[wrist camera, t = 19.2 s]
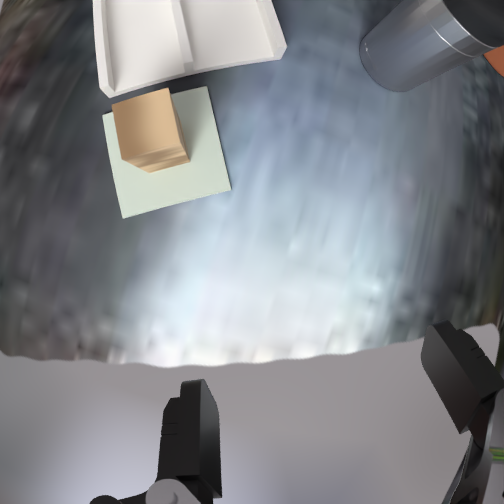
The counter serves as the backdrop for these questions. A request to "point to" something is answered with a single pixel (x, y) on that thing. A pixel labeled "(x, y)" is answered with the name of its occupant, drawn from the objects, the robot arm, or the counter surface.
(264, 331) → the counter surface
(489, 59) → the potted cactus
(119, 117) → the oak block
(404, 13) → the robot arm
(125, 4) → the tray
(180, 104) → the sage mat
